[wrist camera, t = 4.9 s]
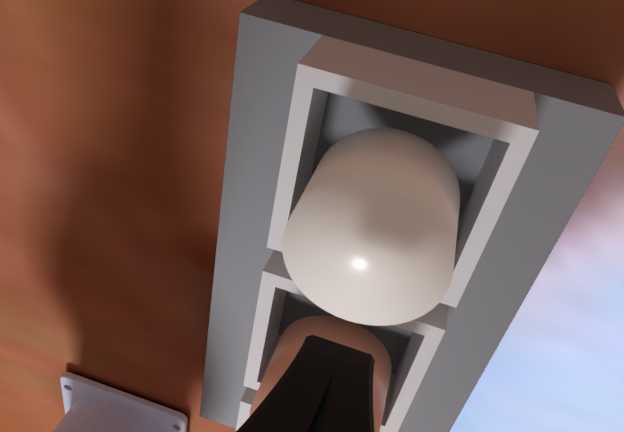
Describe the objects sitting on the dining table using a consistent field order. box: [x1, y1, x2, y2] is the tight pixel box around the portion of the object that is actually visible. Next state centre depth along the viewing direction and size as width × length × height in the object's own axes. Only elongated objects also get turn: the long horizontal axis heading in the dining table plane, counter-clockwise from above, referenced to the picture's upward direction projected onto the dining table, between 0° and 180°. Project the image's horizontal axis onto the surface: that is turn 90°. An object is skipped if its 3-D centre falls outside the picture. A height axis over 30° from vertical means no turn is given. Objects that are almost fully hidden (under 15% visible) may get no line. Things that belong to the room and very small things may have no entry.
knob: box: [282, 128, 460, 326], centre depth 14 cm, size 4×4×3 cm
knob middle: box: [250, 315, 392, 432], centre depth 18 cm, size 4×4×3 cm
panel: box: [200, 0, 624, 432], centre depth 21 cm, size 20×11×5 cm, turn 170°
